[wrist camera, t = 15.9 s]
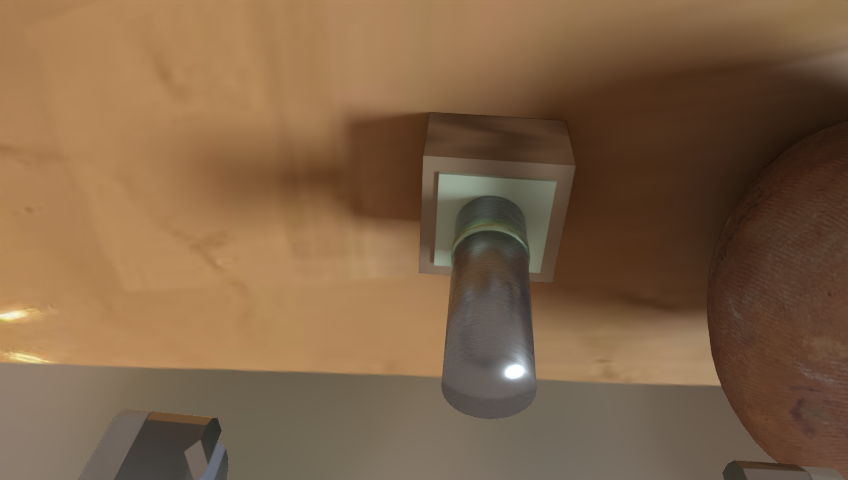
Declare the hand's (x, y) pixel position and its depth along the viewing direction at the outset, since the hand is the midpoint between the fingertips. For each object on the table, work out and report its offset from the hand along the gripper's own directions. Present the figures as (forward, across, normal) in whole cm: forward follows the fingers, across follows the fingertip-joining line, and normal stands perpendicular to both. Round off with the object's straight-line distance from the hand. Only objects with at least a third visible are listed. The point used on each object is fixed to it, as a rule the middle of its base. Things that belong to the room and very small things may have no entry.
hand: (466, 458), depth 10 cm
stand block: (+33, -2, +14) cm, 36 cm away
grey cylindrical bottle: (+27, -2, +14) cm, 30 cm away
